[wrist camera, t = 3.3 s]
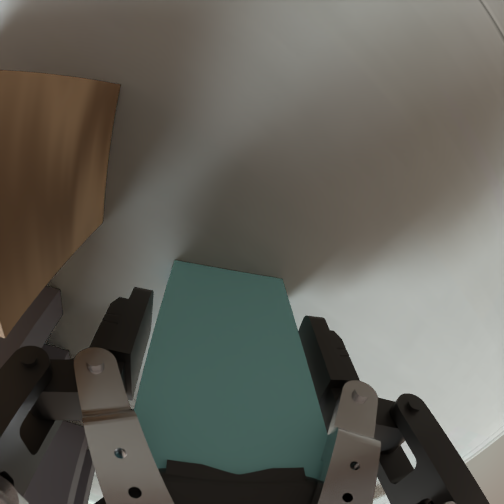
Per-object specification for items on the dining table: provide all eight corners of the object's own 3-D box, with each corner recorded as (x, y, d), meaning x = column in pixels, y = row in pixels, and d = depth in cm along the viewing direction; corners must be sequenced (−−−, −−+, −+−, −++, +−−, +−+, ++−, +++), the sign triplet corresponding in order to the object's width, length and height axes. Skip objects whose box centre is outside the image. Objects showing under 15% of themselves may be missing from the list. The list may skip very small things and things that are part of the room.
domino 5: (47, 436, 21) (20, 522, 12) (95, 451, 21) (75, 544, 12) (51, 444, 21) (27, 526, 12) (97, 458, 22) (80, 547, 13)
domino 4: (34, 410, 19) (-1, 506, 10) (87, 427, 20) (60, 533, 11) (39, 420, 19) (7, 512, 10) (90, 437, 20) (66, 537, 11)
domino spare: (174, 260, 14) (121, 473, 5) (282, 278, 15) (340, 484, 6) (170, 289, 15) (127, 495, 6) (273, 306, 15) (316, 505, 6)
